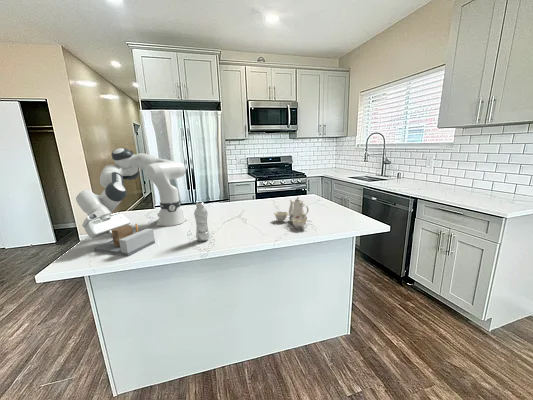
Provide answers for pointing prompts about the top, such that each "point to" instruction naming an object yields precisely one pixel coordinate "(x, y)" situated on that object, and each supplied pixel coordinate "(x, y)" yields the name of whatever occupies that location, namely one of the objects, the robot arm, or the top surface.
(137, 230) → the needle
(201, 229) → the plastic bottle
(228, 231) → the top surface
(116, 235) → the brown wooden block
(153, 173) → the robot arm
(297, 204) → the chinaware
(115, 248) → the base
